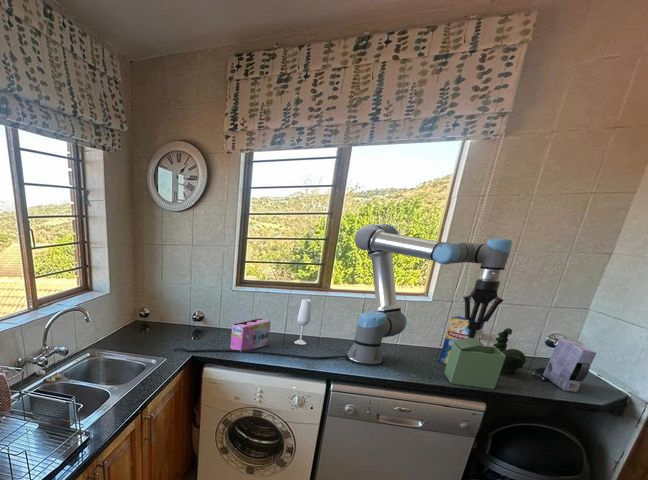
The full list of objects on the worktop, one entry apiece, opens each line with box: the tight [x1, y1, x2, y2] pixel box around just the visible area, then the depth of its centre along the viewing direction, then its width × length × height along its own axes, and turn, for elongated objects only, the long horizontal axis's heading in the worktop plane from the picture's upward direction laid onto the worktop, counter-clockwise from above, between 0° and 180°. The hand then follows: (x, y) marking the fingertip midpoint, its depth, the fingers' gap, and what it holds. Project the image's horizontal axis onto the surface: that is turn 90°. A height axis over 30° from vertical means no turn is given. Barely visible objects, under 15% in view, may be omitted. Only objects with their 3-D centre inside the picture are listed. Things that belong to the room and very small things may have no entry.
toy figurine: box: [492, 327, 527, 375], centre depth 184 cm, size 9×19×25 cm
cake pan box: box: [542, 338, 597, 393], centre depth 167 cm, size 19×5×18 cm, turn 158°
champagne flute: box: [293, 298, 312, 345], centre depth 220 cm, size 7×7×24 cm
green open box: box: [443, 343, 506, 390], centre depth 171 cm, size 15×13×14 cm
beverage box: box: [438, 315, 486, 365], centre depth 190 cm, size 7×11×22 cm, turn 28°
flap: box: [454, 336, 485, 350], centre depth 169 cm, size 7×13×1 cm, turn 156°
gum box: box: [229, 318, 271, 353], centre depth 214 cm, size 24×8×14 cm, turn 127°
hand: (470, 337), depth 168 cm, fingers closed
